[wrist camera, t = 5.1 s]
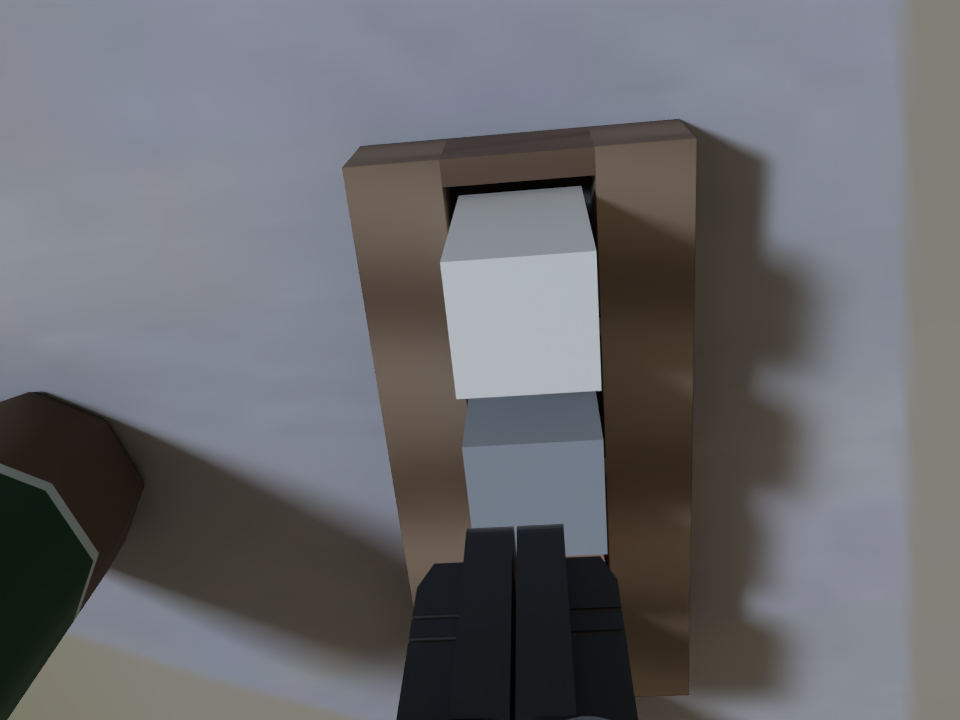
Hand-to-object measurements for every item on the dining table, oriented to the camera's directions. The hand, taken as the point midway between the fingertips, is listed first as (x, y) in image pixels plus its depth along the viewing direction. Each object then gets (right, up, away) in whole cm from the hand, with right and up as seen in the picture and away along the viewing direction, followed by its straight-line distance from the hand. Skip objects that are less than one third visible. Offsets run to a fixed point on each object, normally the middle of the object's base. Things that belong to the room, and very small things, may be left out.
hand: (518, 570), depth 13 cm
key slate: (+1, +2, +15) cm, 15 cm away
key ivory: (+1, +7, +13) cm, 14 cm away
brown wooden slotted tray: (+2, +1, +18) cm, 18 cm away
